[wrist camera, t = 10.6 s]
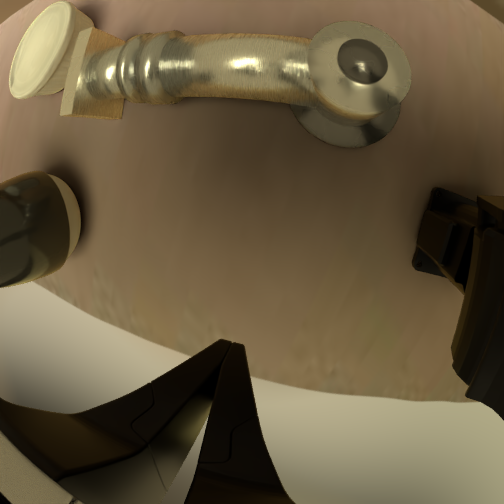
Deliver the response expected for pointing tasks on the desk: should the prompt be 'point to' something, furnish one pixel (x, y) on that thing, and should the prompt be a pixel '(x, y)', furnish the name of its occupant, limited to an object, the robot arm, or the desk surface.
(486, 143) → the desk surface
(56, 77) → the ramekin
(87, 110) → the metal pipe fitting
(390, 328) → the desk surface
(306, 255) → the desk surface
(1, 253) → the black egg-shaped dome
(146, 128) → the desk surface
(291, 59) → the elbow
